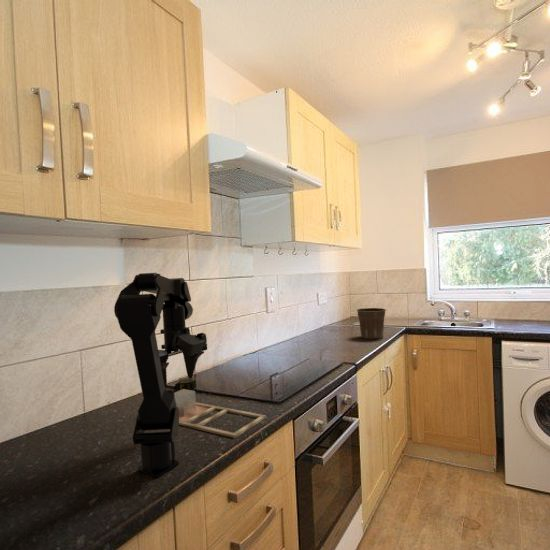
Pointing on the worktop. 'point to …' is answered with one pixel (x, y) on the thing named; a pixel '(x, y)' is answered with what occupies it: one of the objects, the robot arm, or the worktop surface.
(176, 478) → the worktop surface
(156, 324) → the robot arm
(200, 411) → the rectangular frame with crossbars
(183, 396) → the metal block
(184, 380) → the tape measure
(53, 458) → the worktop surface
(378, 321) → the plant pot
